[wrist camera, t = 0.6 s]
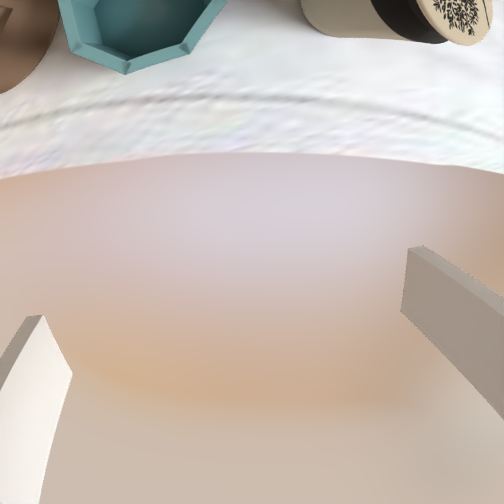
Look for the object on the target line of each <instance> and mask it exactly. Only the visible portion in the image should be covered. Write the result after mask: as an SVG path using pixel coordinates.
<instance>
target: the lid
mask: <svg viewBox="0 0 504 504" xmlns="http://www.w3.org/2000/svg"><path fill="white" fill-rule="evenodd" d="M59 16H60V8H59V4H58V0H0V94H1V93H4V92H6V91H8V90H10V89H12V88H13V87H15V86H16V85H18V84H19V83H20V82H22V81H23V80H24V79H25V78H26V77H27V76H28V75H29V74H30V73H31V72H32V71H33V70H34V69H35V67H36V66H37V65H38V63H39V62H40V61H41V59H42V58H43V56H44V55H45V53H46V51H47V49H48V47H49V45H50V43H51V41H52V39H53V37H54V34H55V31H56V28H57V25H58V20H59Z"/></svg>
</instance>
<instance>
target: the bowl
mask: <svg viewBox="0 0 504 504" xmlns="http://www.w3.org/2000/svg"><path fill="white" fill-rule="evenodd" d="M226 3H227V0H58V4H59V8H60V12H61V16H62V21H63V25H64V29H65V32H66V36H67V40H68V44H69V47H70V51H71V53H73V54H76V55H78V56H81V57H84V58H86V59H89V60H91V61H94V62H96V63H98V64H101V65H103V66H106V67H108V68H110V69H113V70H115V71H117V72H120V73H122V74H124V75H126V74H129V73H132V72H135V71H137V70H140V69H143V68H146V67H149V66H152V65H155V64H158V63H161V62H164V61H168V60H171V59H174V58H178V57H181V56H185V55H189V54H190V53H191V52H192V50H193V49H194V47H195V46H196V44H197V43H198V41H199V40H200V38H201V37H202V35H203V34H204V33H205V31H206V30H207V28H208V27H209V26H210V24H211V23H212V21H213V20H214V19H215V17H216V16H217V15H218V13H219V12H220V11H221V9H222V8H223V7H224V5H225V4H226Z"/></svg>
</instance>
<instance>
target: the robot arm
mask: <svg viewBox="0 0 504 504" xmlns="http://www.w3.org/2000/svg"><path fill="white" fill-rule="evenodd" d="M401 312H402V313H403V314H404V315H405V316H406V317H407V318H408V319H409V320H410V321H411V322H412V323H413V324H414V325H415V326H416V327H417V328H418V329H419V330H420V331H421V332H422V333H423V334H424V335H425V336H426V337H427V338H428V339H429V340H430V341H431V342H432V343H433V344H434V345H435V346H436V347H437V348H438V349H439V350H440V351H441V352H442V353H443V354H444V355H445V356H446V357H447V359H448V360H449V361H450V362H451V363H452V364H453V365H454V366H455V367H456V368H457V369H458V370H459V371H460V372H461V373H462V374H463V375H464V376H465V378H467V380H468V381H469V382H470V383H471V384H472V385H473V386H474V387H475V388H476V389H477V390H478V392H479V393H480V394H481V395H482V396H483V397H484V398H485V399H486V400H487V401H488V403H489V404H490V405H491V406H492V407H493V408H494V409H495V410H496V412H497V413H498V414H499V415H500V416H501V417H502V418H503V419H504V298H503V297H502V296H500V295H499V294H497V293H496V292H494V291H493V290H492V289H490V288H489V287H487V286H486V285H484V284H483V283H481V282H480V281H478V280H477V279H475V278H474V277H472V276H471V275H469V274H468V273H466V272H465V271H463V270H462V269H460V268H459V267H457V266H456V265H454V264H452V263H451V262H449V261H448V260H446V259H444V258H443V257H441V256H440V255H438V254H437V253H435V252H433V251H432V250H430V249H428V248H427V247H425V246H424V245H422V246H418V247H414V248H409V249H408V255H407V265H406V274H405V283H404V290H403V298H402V305H401ZM72 375H73V374H72V372H71V370H70V368H69V366H68V364H67V363H66V361H65V359H64V357H63V355H62V353H61V351H60V349H59V347H58V345H57V343H56V341H55V339H54V337H53V335H52V333H51V331H50V329H49V327H48V325H47V322H46V320H45V318H44V316H43V315H37V316H29V317H27V318H26V319H25V321H24V322H23V323H22V325H21V327H20V328H19V330H18V331H17V333H16V334H15V336H14V337H13V339H12V340H11V342H10V344H9V345H8V347H7V348H6V350H5V352H4V353H3V355H2V357H1V358H0V504H39V499H40V493H41V488H42V483H43V479H44V474H45V470H46V465H47V461H48V457H49V452H50V448H51V445H52V441H53V437H54V433H55V430H56V426H57V423H58V419H59V416H60V413H61V409H62V406H63V402H64V400H65V396H66V393H67V390H68V387H69V384H70V381H71V378H72Z"/></svg>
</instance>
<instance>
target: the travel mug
mask: <svg viewBox="0 0 504 504" xmlns="http://www.w3.org/2000/svg"><path fill="white" fill-rule="evenodd" d="M300 1H301V7H302V10H303V13H304V15H305V17H306V18H307V20H308V21H309V22H310V24H311V25H312V26H313V27H315V28H316V29H317V30H319V31H320V32H322V33H324V34H326V35H329V36H332V37H339V38H378V39H393V40H405V41H414V42H423V43H431V44H439V43H444V42H446V41H448V40H449V41H451V42H453V43H456V44H459V45H465V46H469V45H474V44H477V43H478V42H480V41H481V40H483V39H484V38H485V36H486V35H487V33H488V32H489V29H490V27H491V23H492V17H493V6H492V0H300Z"/></svg>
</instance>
